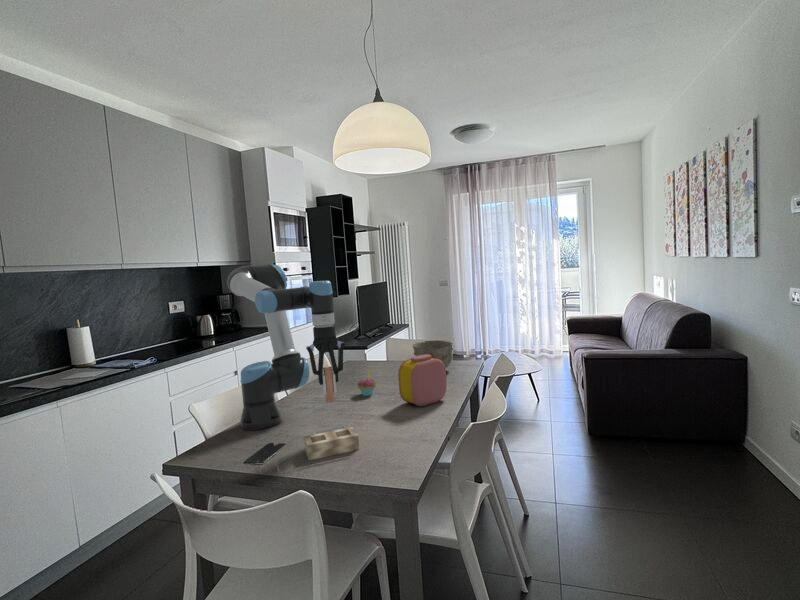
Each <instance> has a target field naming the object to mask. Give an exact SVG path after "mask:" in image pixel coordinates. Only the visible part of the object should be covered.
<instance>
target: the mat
mask: <svg viewBox="0 0 800 600" xmlns="http://www.w3.org/2000/svg"><path fill="white" fill-rule="evenodd" d="M344 428H345V426H341V427H339V426H338V427H336V428H330V429H326V430H320V431H316V434H319V433H324V432H329V431H334V430H339V429H344Z"/></svg>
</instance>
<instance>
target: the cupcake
mask: <svg viewBox="0 0 800 600" xmlns="http://www.w3.org/2000/svg"><path fill="white" fill-rule="evenodd" d="M367 375H368V376H367V378H364V379H361V380H359V382H357V389H359V391H360V393H361V395H362V396H364V397H369V396H372V395H373V394H374V389H375V388H376V386H377V382H376V381H375V380H373V379H371V378H370V375H371V368H369V370H368V374H367Z"/></svg>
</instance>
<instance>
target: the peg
mask: <svg viewBox="0 0 800 600" xmlns="http://www.w3.org/2000/svg"><path fill="white" fill-rule="evenodd" d="M332 373H333V368H332V366H323V374H324V375H325V382H326V394H324V395H325V402H326V403H329V404H330V403H334V402H335V401H336V399H335V393H334V387H333V375H332Z"/></svg>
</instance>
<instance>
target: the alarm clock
mask: <svg viewBox="0 0 800 600" xmlns="http://www.w3.org/2000/svg"><path fill="white" fill-rule="evenodd" d="M397 373H398V374H397V376H398V388H399V389H398V391H399V395H400V398H401V399H402V400H403V401H404V402H406V403H411V404H414V405H415V406H417V407H425V406H428V405H431V404H434V403H435V404H436V403H438V402H440V401H441V400H443V399H444V396H445V395H446V392H447V385H448V384H447V368H446V369H445V365H444V364H443V362H442V361H441V360H439V359H433V358H432V355H428V354H425V355H420V356H415V355H414V356H413V357H410V358H409V359H406V360H404V361H403V362H402V363H401V364H400V366H399V369H398V372H397Z"/></svg>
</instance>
